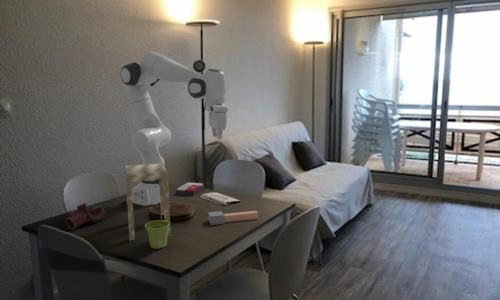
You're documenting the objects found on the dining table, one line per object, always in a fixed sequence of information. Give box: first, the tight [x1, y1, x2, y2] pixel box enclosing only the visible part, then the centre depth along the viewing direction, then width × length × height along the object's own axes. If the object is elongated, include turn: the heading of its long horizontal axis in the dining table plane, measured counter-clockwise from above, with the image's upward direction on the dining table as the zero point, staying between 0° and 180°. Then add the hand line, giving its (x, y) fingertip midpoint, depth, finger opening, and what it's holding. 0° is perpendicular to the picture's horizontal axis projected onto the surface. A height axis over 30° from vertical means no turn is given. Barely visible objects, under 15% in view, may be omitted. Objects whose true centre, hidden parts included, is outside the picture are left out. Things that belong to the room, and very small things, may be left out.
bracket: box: [65, 202, 107, 230], centre depth 181 cm, size 6×17×10 cm, turn 150°
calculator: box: [175, 182, 205, 197], centre depth 233 cm, size 11×4×15 cm
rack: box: [125, 163, 171, 242], centre depth 172 cm, size 16×22×26 cm
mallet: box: [208, 210, 259, 226], centre depth 185 cm, size 22×6×4 cm, turn 107°
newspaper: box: [201, 192, 242, 206], centre depth 218 cm, size 23×12×2 cm, turn 39°
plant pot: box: [144, 219, 171, 250], centre depth 156 cm, size 9×9×9 cm
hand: (217, 137), depth 182 cm, fingers open, 8 cm apart
